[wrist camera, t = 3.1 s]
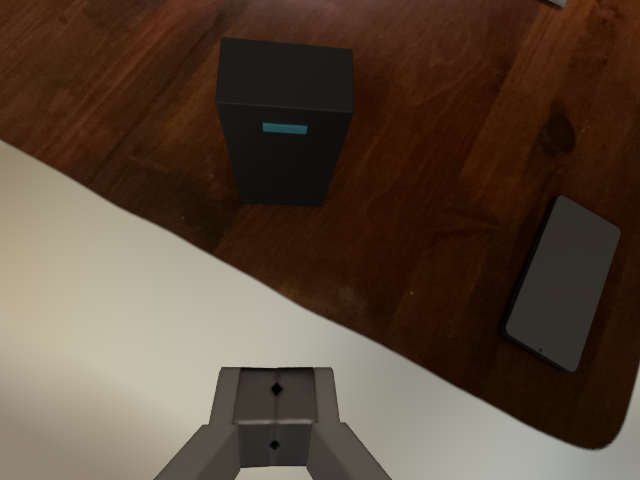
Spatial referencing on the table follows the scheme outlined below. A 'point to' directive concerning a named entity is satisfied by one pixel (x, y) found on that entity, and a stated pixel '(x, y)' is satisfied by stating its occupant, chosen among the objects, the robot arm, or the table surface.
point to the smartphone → (562, 284)
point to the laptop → (559, 2)
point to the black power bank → (284, 117)
